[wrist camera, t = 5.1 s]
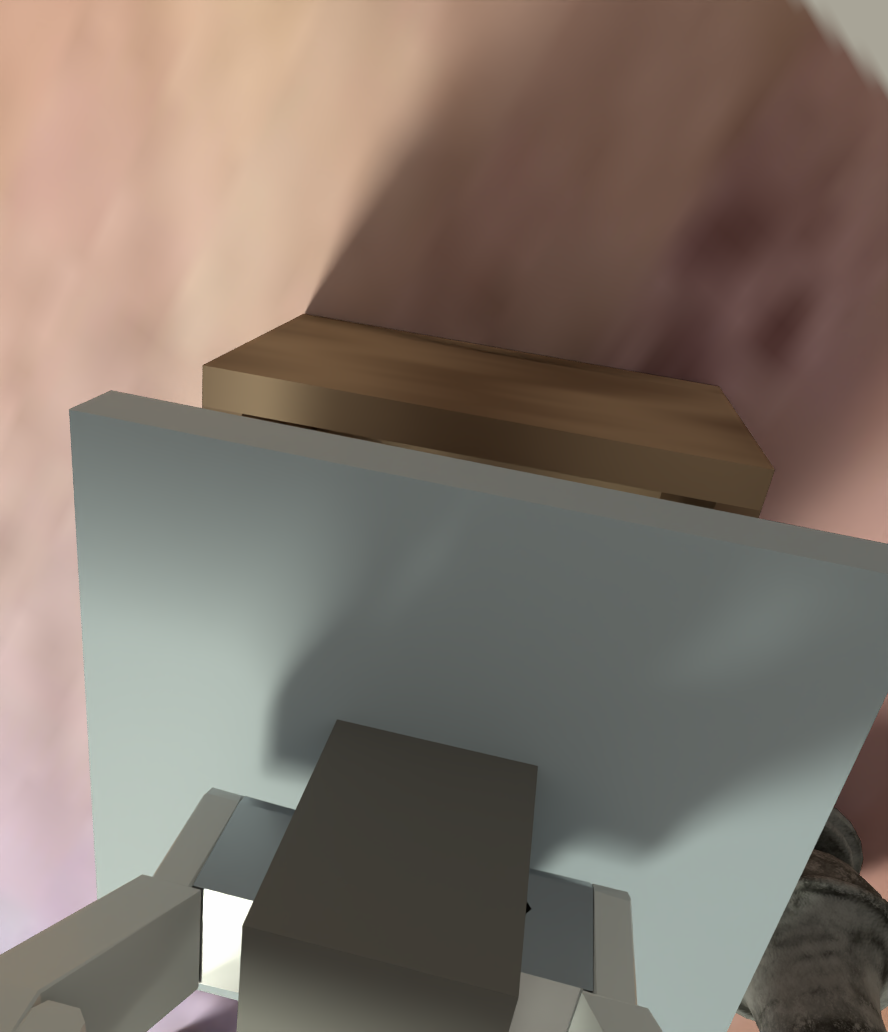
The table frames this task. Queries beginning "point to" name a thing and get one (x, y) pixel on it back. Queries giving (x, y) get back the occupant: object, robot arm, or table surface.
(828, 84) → the table surface
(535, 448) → the box
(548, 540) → the lid
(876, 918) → the grey chess piece
